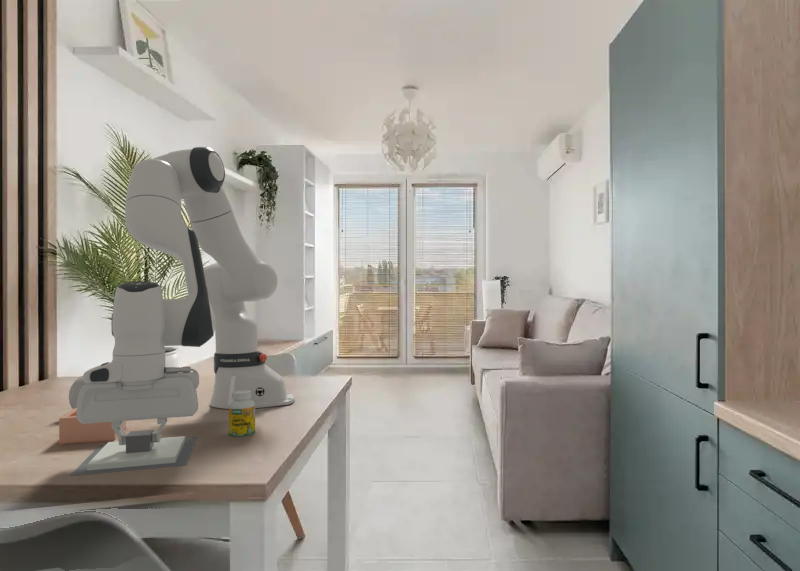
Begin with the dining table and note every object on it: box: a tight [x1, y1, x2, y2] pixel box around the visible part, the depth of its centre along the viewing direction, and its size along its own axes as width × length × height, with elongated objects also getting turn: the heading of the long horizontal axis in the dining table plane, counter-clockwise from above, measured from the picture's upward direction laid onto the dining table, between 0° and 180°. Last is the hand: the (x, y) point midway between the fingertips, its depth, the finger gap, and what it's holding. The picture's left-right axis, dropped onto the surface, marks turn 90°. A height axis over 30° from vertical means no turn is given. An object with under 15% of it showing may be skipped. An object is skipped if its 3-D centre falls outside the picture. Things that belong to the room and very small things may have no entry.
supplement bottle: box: [228, 390, 256, 437], centre depth 113 cm, size 5×5×10 cm
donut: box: [68, 375, 87, 410], centre depth 137 cm, size 10×3×10 cm, turn 168°
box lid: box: [87, 429, 186, 471], centre depth 99 cm, size 14×14×4 cm
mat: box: [69, 437, 198, 477], centre depth 99 cm, size 18×18×1 cm
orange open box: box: [58, 408, 127, 446], centre depth 112 cm, size 10×10×6 cm
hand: (140, 443), depth 99 cm, fingers closed on box lid, 4 cm apart
